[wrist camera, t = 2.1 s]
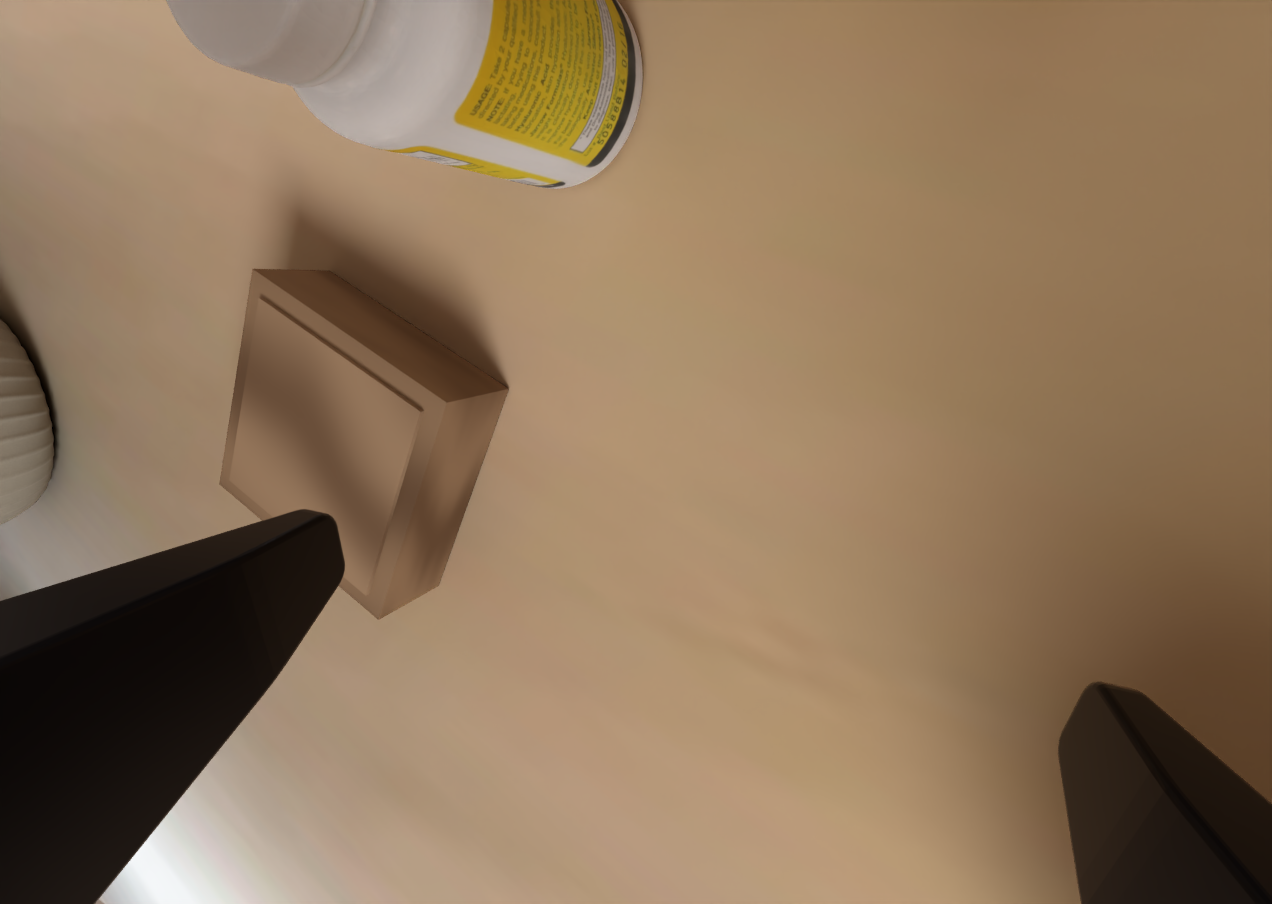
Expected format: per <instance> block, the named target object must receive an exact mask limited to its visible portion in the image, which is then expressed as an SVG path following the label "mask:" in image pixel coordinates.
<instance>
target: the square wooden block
mask: <svg viewBox="0 0 1272 904" xmlns="http://www.w3.org/2000/svg"><path fill="white" fill-rule="evenodd" d="M508 390H509V389H508V388H507V387H505V386H504V385H502V384H501V383H499V382H498V381H496V380H495V379H493V378H492V377H490V376H489V375H487V374H486V373H484V372H482V371H481V370H479V369H478V368H476V367H475V366H473V365H472V364H470V363H469V362H467V361H466V360H464V359H463V358H461V357H460V356H458V355H457V354H455V353H454V352H452V351H451V350H449V349H447V348H446V347H444V346H443V345H441V344H440V343H438V342H437V341H435V340H434V339H432V338H431V337H429V336H428V335H426V334H425V333H423V332H422V331H420V330H419V329H417V328H415V327H414V326H412V325H411V324H409V323H408V322H406V321H405V320H403V319H402V318H400V317H399V316H397V315H396V314H394V313H393V312H391V311H390V310H388V309H387V308H385V307H384V306H382V305H380V304H379V303H377V302H376V301H374V300H373V299H371V298H370V297H368V296H367V295H365V294H364V293H362V292H361V291H359V290H358V289H356V288H355V287H353V286H352V285H350V284H349V283H347V282H345V281H344V280H342V279H341V278H339V277H338V276H336V275H335V274H333V273H332V272H330V271H317V270H275V269H253V270H252V277H251V283H250V290H249V296H248V302H247V309H246V315H245V322H244V328H243V335H242V341H241V348H240V354H239V361H238V367H237V374H236V380H235V387H234V393H233V399H232V406H231V412H230V419H229V425H228V432H227V438H226V445H225V451H224V458H223V464H222V471H221V477H220V485H221V486H222V487H223V488H225V489H226V490H227V491H228V492H229V493H230V494H232V495H233V496H234V497H235V498H236V499H238V500H239V501H240V502H241V503H242V504H243V505H245V506H246V507H247V508H248V509H249V510H250V511H252V512H253V513H254V514H255V515H256V516H257V517H259V518H260V519H261V520H262V521H263V520H266V519H270V518H273V517H276V516H279V515H283V514H286V513H289V512H293V511H296V510H300V509H308V510H313V511H318V512H322V513H327V514H329V515H331V516H332V517H333V518H334V519H335V521H336V523H337V526H338V531H339V536H340V541H341V545H342V550H343V555H344V560H345V571H344V575H343V578H342V580H341V582H340V584H339V587H341V588H342V589H343V590H344V591H345V592H346V593H348V594H349V595H350V596H351V597H352V598H354V599H355V600H356V601H357V602H358V603H359V604H361V605H362V606H363V607H364V608H365V609H366V610H368V611H369V612H370V613H371V614H372V615H373V616H375V617H376V618H377V619H378V620H379V619H381V618H383V617H384V616H386V615H388V614H390V613H391V612H393V611H395V610H397V609H398V608H400V607H402V606H404V605H405V604H407V603H409V602H411V601H412V600H414V599H416V598H418V597H420V596H421V595H423V594H425V593H427V592H428V591H430V590H432V589H434V588H435V587H437V586H439V583H440V580H441V577H442V575H443V572H444V569H445V566H446V563H447V561H448V558H449V555H450V552H451V549H452V547H453V544H454V541H455V538H456V535H457V533H458V530H459V527H460V524H461V521H462V519H463V516H464V513H465V510H466V507H467V505H468V502H469V499H470V496H471V494H472V491H473V488H474V485H475V482H476V480H477V477H478V474H479V471H480V468H481V466H482V463H483V460H484V457H485V454H486V452H487V449H488V446H489V443H490V440H491V438H492V435H493V432H494V429H495V426H496V424H497V421H498V418H499V415H500V412H501V410H502V407H503V404H504V401H505V398H506V396H507V393H508Z"/></svg>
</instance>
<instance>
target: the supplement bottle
mask: <svg viewBox="0 0 1272 904" xmlns="http://www.w3.org/2000/svg"><path fill="white" fill-rule="evenodd" d="M166 1H167V3H168V5H169V8H170V10H171V12H172V14H173V16H174V18H175V20H176V21H177V23H178V25H179V26H180V28H181V29H182V31H183V32H184V34H185V35H186V36H187V38H188V39H189V40H190V42H191V43H192V44H193V45H194V46H195V47H196V48H198V49H199V50H200V51H201V52H202V53H203V54H205V55H206V56H207V57H208V58H210V59H212V60H214V61H216V62H218V63H220V64H222V65H225V66H228V67H231V68H234V69H237V70H240V71H243V72H247V73H249V74H252V75H255V76H258V77H261V78H265V79H269V80H272V81H275V82H278V83H283V84H287V85H289V86H292V87H293V88H294V90H295V91H296V93H297V94H298V96H299V97H300V99H301V100H302V102H303V103H304V104H305V105H306V106H307V108H308V109H309V110H310V111H311V112H312V113H313V114H314V115H315V116H316V117H317V118H318V119H319V120H320V121H321V122H322V123H324V124H325V125H326V126H327V127H329V128H330V129H332V130H333V131H334V132H336V133H338V134H340V135H341V136H343V137H345V138H347V139H350V140H352V141H355V142H357V143H361V144H364V145H368V146H370V147H373V148H377V149H381V150H386V151H390V152H395V153H399V154H403V155H407V156H411V157H416V158H420V159H424V160H428V161H432V162H436V163H440V164H445V165H449V166H453V167H457V168H460V169H465V170H469V171H474V172H478V173H481V174H486V175H490V176H493V177H498V178H502V179H506V180H510V181H514V182H518V183H523V184H527V185H532V186H537V187H542V188H551V189H559V188H567V187H572V186H575V185H578V184H581V183H583V182H585V181H587V180H589V179H591V178H592V177H594V176H595V175H597V174H598V173H599V172H601V171H602V170H603V169H604V168H605V167H606V166H607V165H608V164H609V163H610V162H611V161H612V160H613V159H614V158H615V157H616V155H617V154H618V153H619V151H620V150H621V148H622V147H623V145H624V144H625V142H626V140H627V138H628V136H629V134H630V132H631V130H632V128H633V125H634V123H635V120H636V117H637V113H638V110H639V106H640V101H641V94H642V83H643V68H642V57H641V51H640V46H639V42H638V39H637V36H636V33H635V30H634V28H633V26H632V24H631V21H630V19H629V17H628V15H627V14H626V12H625V10H624V9H623V7H622V6H621V5H620V3H619V2H618V1H617V0H166Z"/></svg>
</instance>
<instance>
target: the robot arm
mask: <svg viewBox="0 0 1272 904" xmlns="http://www.w3.org/2000/svg"><path fill="white" fill-rule="evenodd" d="M344 571H345V560H344V555H343V550H342V545H341V541H340V536H339V531H338V526H337V523H336V521H335V519H334V518H333V517H332V516H331V515H329V514H327V513H322V512H318V511H313V510H308V509H300V510H296V511H293V512H289V513H286V514H283V515H279V516H276V517H273V518H270V519H266V520H263V521H260V522H257V523H253V524H250V525H247V526H244V527H240V528H237V529H234V530H231V531H227V532H224V533H221V534H218V535H214V536H211V537H208V538H205V539H201V540H198V541H195V542H192V543H188V544H185V545H182V546H179V547H175V548H172V549H169V550H166V551H162V552H159V553H156V554H152V555H149V556H146V557H143V558H139V559H136V560H133V561H130V562H126V563H123V564H120V565H117V566H113V567H110V568H107V569H104V570H100V571H97V572H94V573H91V574H87V575H84V576H81V577H78V578H74V579H71V580H68V581H65V582H61V583H58V584H55V585H52V586H48V587H45V588H42V589H39V590H35V591H32V592H29V593H25V594H22V595H19V596H16V597H12V598H9V599H6V600H3V601H0V904H95V903H96V902H97V901H98V899H99V898H100V897H101V896H102V894H103V893H104V892H105V891H106V889H107V888H108V887H109V886H110V885H111V883H112V882H113V881H114V880H115V878H116V877H117V876H118V875H119V873H120V872H121V871H122V870H123V868H124V867H125V866H126V865H127V863H128V862H129V861H130V860H131V858H132V857H133V856H134V855H135V854H136V852H137V851H138V850H139V849H140V847H141V846H142V845H143V844H144V842H145V841H146V840H147V839H148V837H149V836H150V835H151V834H152V832H153V831H154V830H155V829H156V827H157V826H158V825H159V824H160V823H161V821H162V820H163V819H164V818H165V816H166V815H167V814H168V813H169V811H170V810H171V809H172V808H173V806H174V805H175V804H176V803H177V801H178V800H179V799H180V798H181V797H182V795H183V794H184V793H185V792H186V790H187V789H188V788H189V787H190V785H191V784H192V783H193V782H194V780H195V779H196V778H197V777H198V775H199V774H200V773H201V772H202V770H203V769H204V768H205V767H206V766H207V764H208V763H209V762H210V761H211V759H212V758H213V757H214V756H215V754H216V753H217V752H218V751H219V749H220V748H221V747H222V746H223V744H224V743H225V742H226V741H227V739H228V738H229V737H230V736H231V735H232V733H233V732H234V731H235V730H236V728H237V727H238V726H239V725H240V723H241V722H242V721H243V720H244V718H245V717H246V716H247V715H248V713H249V712H250V711H251V710H252V708H253V707H254V706H255V705H256V704H257V702H258V701H259V700H260V699H261V697H262V696H263V695H264V694H265V692H266V691H267V690H268V688H269V687H270V686H271V684H272V683H273V682H274V681H275V679H276V678H277V676H278V675H279V674H280V672H281V671H282V669H283V668H284V666H285V665H286V664H287V662H288V661H289V659H290V658H291V656H292V655H293V653H294V652H295V650H296V649H297V647H298V646H299V644H300V643H301V641H302V640H303V638H304V637H305V635H306V634H307V632H308V631H309V629H310V628H311V626H312V625H313V623H314V622H315V620H316V619H317V617H318V616H319V614H320V613H321V611H322V610H323V608H324V607H325V605H326V604H327V602H328V601H329V599H330V598H331V596H332V595H333V593H334V592H335V590H336V589H337V587H338V586H339V584H340V582H341V580H342V578H343V575H344ZM1058 755H1059V763H1060V770H1061V776H1062V783H1063V789H1064V796H1065V803H1066V809H1067V816H1068V822H1069V829H1070V836H1071V842H1072V849H1073V855H1074V862H1075V869H1076V875H1077V882H1078V888H1079V893H1080V899H1081V904H1272V804H1271V803H1270V802H1269V801H1268V800H1267V799H1265V798H1264V797H1263V796H1262V795H1261V794H1260V793H1258V792H1257V791H1256V790H1255V789H1254V788H1253V787H1251V786H1250V785H1249V784H1248V783H1247V782H1246V781H1244V780H1243V779H1242V778H1241V777H1240V776H1239V775H1238V774H1236V773H1235V772H1234V771H1233V770H1232V769H1231V768H1229V767H1228V766H1227V765H1226V764H1225V763H1224V762H1222V761H1221V760H1220V759H1219V758H1218V757H1217V756H1215V755H1214V754H1213V753H1212V752H1211V751H1210V750H1209V749H1207V748H1206V747H1205V746H1204V745H1203V744H1202V743H1200V742H1199V741H1198V740H1197V739H1196V738H1195V737H1193V736H1192V735H1191V734H1190V733H1189V732H1188V731H1186V730H1185V729H1184V728H1183V727H1182V726H1181V725H1179V724H1178V723H1177V722H1176V721H1175V720H1174V719H1173V718H1171V717H1170V716H1169V715H1168V714H1167V713H1166V712H1164V711H1163V710H1162V709H1161V708H1160V707H1159V706H1157V705H1156V704H1155V703H1154V702H1153V701H1152V700H1150V699H1149V698H1148V697H1147V696H1146V695H1144V694H1143V693H1141V692H1140V691H1137V690H1135V689H1131V688H1127V687H1122V686H1118V685H1113V684H1108V683H1104V682H1093V683H1091V684H1089V685H1088V686H1087V687H1086V688H1085V690H1084V691H1083V693H1082V695H1081V697H1080V698H1079V700H1078V702H1077V704H1076V706H1075V708H1074V710H1073V712H1072V714H1071V715H1070V717H1069V719H1068V721H1067V723H1066V725H1065V727H1064V729H1063V731H1062V733H1061V736H1060V739H1059V746H1058Z"/></svg>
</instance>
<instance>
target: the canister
mask: <svg viewBox="0 0 1272 904" xmlns="http://www.w3.org/2000/svg"><path fill="white" fill-rule="evenodd" d="M53 442H54V436H53V433H52V422H51V420H50V416H49V408H48V406H47V403H46V399H45V393H44V392H43V390H42V387H41V384H40V380H39V377H38V376H37V374H36V372H35V369H34V366H33V364H32V363H31V362H30V360H29V358H28V356H27V353H26V351H25V349H24V348H23V347H22V346H21V345H20V342H19V340H18V339H17V337H16V336H15V335H14V334H13V333H12V332H11V330H10V329H9V327H8V326H7V324H5V323H4V322H3V321H2V320H1V319H0V525H1V524H3V523H5V522H7V521H9V520H11V519H13V518H15V517H16V516H18V515H19V514H21V513H22V512H24V511H25V510H27V509H28V508H29V507H31V506H32V505H33V504H34V503H35V502H37V500H38V499H39V498H40V497H41V495H42V494H43V492H44V491H45V490H46V488H47V485H48V482H49V480H50V478H51V470H52V468H53V456H54V447H53Z"/></svg>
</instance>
